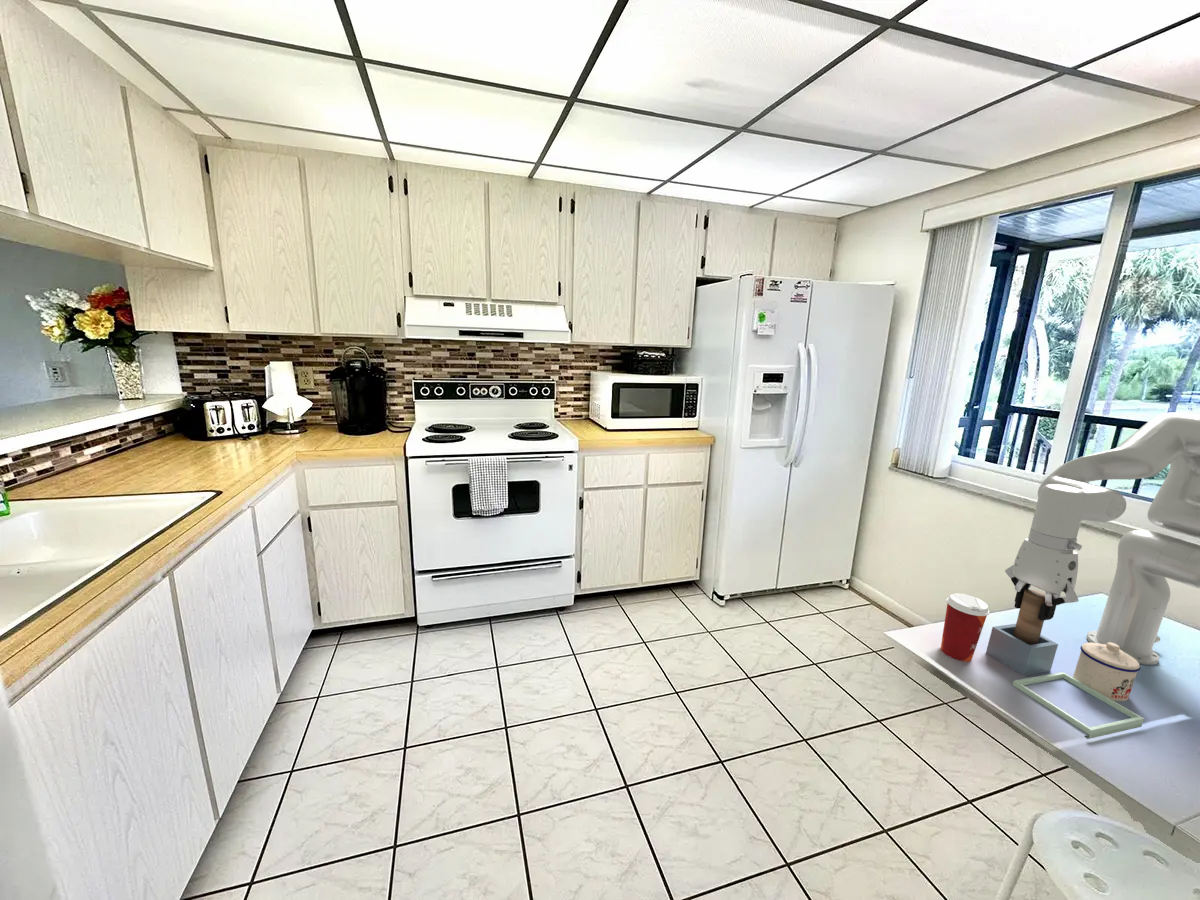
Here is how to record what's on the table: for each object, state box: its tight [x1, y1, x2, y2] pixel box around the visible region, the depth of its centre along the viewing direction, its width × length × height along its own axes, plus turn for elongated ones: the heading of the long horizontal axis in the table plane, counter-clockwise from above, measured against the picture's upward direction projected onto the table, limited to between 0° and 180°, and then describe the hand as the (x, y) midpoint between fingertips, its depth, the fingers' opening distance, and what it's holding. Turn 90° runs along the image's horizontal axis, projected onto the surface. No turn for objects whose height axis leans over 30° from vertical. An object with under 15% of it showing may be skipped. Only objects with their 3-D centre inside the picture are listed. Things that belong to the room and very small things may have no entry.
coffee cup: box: [940, 592, 991, 663], centre depth 114 cm, size 8×8×15 cm
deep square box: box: [985, 623, 1059, 676], centre depth 113 cm, size 8×8×8 cm
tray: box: [1012, 671, 1145, 740], centre depth 100 cm, size 15×14×2 cm
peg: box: [1013, 589, 1045, 645], centre depth 111 cm, size 4×4×13 cm
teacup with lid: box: [1072, 642, 1141, 702], centre depth 105 cm, size 12×9×12 cm
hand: (1032, 612), depth 111 cm, fingers closed on peg, 4 cm apart
